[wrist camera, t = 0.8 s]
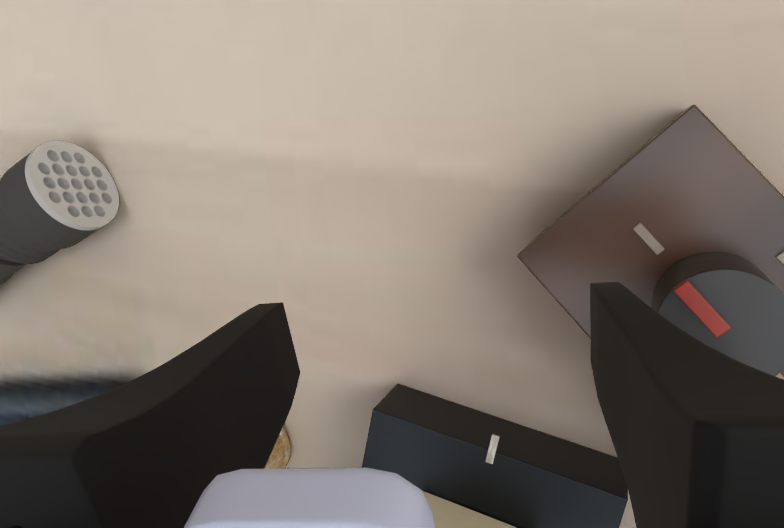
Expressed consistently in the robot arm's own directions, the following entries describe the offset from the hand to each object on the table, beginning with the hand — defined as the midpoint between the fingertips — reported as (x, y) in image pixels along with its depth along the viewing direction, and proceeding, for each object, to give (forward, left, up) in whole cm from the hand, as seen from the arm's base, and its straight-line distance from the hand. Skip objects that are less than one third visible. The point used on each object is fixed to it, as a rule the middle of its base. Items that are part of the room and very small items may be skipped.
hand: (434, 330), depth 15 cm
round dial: (-7, -2, -13) cm, 15 cm away
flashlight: (+27, +17, -17) cm, 36 cm away
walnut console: (-7, -2, -16) cm, 18 cm away
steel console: (-5, +12, -16) cm, 21 cm away
